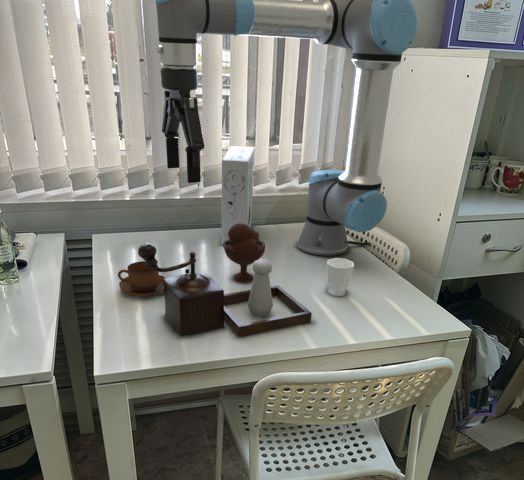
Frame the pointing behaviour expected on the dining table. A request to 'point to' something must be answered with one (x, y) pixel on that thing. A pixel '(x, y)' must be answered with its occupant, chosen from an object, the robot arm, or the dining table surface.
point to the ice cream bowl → (243, 249)
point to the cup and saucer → (141, 280)
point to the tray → (268, 324)
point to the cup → (339, 275)
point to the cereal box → (237, 188)
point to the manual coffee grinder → (189, 296)
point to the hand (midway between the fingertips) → (183, 174)
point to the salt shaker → (261, 289)
